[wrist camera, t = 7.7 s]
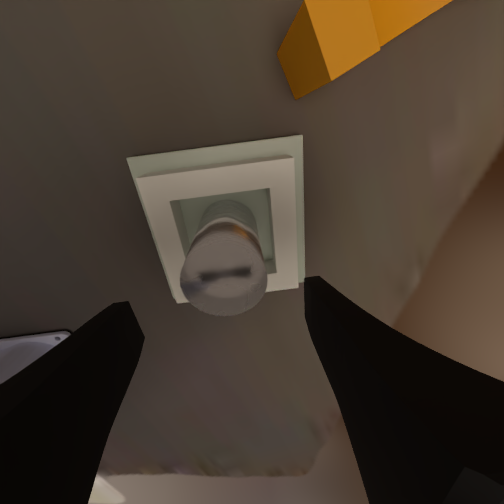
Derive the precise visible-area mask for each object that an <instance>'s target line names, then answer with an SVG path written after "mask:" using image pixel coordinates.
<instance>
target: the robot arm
mask: <svg viewBox="0 0 504 504" xmlns="http://www.w3.org/2000/svg"><path fill="white" fill-rule="evenodd" d="M304 302H305V319H306V322H307V326H308V329H309V333H310V336H311V339H312V342H313V344H314V346H315V349H316V351H317V354H318V356H319V358H320V361H321V363H322V365H323V368H324V370H325V372H326V375H327V377H328V380H329V382H330V384H331V387H332V389H333V391H334V394H335V396H336V399H337V402H338V404H339V407H340V410H341V413H342V416H343V419H344V423H345V426H346V429H347V432H348V435H349V438H350V441H351V444H352V448H353V451H354V454H355V457H356V460H357V463H358V467H359V470H360V474H361V477H362V480H363V484H364V487H365V490H366V494H367V497H368V501H369V504H504V382H503V381H500V380H498V379H495V378H493V377H491V376H489V375H486V374H484V373H481V372H479V371H477V370H474V369H472V368H470V367H468V366H465V365H463V364H461V363H459V362H456V361H454V360H452V359H450V358H448V357H446V356H444V355H442V354H440V353H438V352H436V351H434V350H432V349H430V348H428V347H426V346H424V345H422V344H420V343H418V342H416V341H414V340H412V339H411V338H409V337H407V336H405V335H403V334H402V333H400V332H398V331H396V330H395V329H393V328H391V327H389V326H388V325H386V324H385V323H383V322H381V321H380V320H378V319H377V318H375V317H374V316H372V315H371V314H369V313H368V312H366V311H365V310H363V309H362V308H360V307H359V306H357V305H356V304H355V303H353V302H352V301H351V300H349V299H348V298H346V297H345V296H344V295H343V294H341V293H340V292H339V291H337V290H336V289H335V288H334V287H332V286H331V285H330V284H329V283H327V282H326V281H325V280H324V279H322V278H321V277H320V276H314V277H307V278H304ZM144 339H145V337H144V334H143V332H142V330H141V328H140V326H139V323H138V321H137V319H136V317H135V315H134V312H133V310H132V308H131V306H130V304H129V301H126V302H118V303H113V304H111V305H110V306H108V307H107V308H105V309H104V310H103V311H101V312H100V313H98V314H97V315H96V316H94V317H93V318H92V319H90V320H89V321H88V322H86V323H85V324H84V325H83V326H81V327H80V328H79V329H77V330H76V331H75V332H73V333H72V334H70V333H69V332H67V331H60V332H52V333H44V334H37V335H29V336H21V337H14V338H6V339H0V504H88V501H89V498H90V494H91V491H92V488H93V484H94V481H95V477H96V474H97V470H98V467H99V464H100V461H101V457H102V454H103V451H104V448H105V445H106V442H107V438H108V435H109V433H110V430H111V427H112V425H113V422H114V420H115V417H116V415H117V412H118V410H119V408H120V405H121V403H122V400H123V398H124V396H125V393H126V391H127V389H128V386H129V384H130V381H131V379H132V376H133V374H134V372H135V369H136V367H137V364H138V361H139V358H140V354H141V351H142V347H143V343H144Z"/></svg>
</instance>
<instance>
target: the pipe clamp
mask: <svg viewBox="0 0 504 504" xmlns="http://www.w3.org/2000/svg"><path fill="white" fill-rule="evenodd" d="M451 1H452V0H304V1H303V3H302V5H301V7H300V9H299V11H298V13H297V15H296V17H295V19H294V21H293V23H292V24H291V26H290V28H289V30H288V32H287V34H286V36H285V38H284V40H283V42H282V44H281V46H280V48H279V50H278V52H277V56H278V59H279V61H280V64H281V66H282V69H283V71H284V73H285V76H286V78H287V81H288V83H289V86H290V88H291V91H292V93H293V96H294V98H295V100H297V99H299V98H301V97H302V96H304V95H306V94H308V93H310V92H312V91H314V90H316V89H317V88H319V87H321V86H323V85H325V84H327V83H329V82H331V81H332V80H334V79H336V78H337V77H339V76H340V75H342V74H343V73H345V72H346V71H348V70H350V69H351V68H353V67H354V66H356V65H357V64H359V63H361V62H362V61H364V60H365V59H367V58H368V57H370V56H371V55H373V54H375V53H376V52H378V51H379V50H380V47H381V46H383V45H384V44H386V43H387V42H389V41H390V40H392V39H393V38H395V37H396V36H398V35H399V34H401V33H402V32H404V31H405V30H407V29H409V28H410V27H412V26H413V25H415V24H416V23H418V22H419V21H421V20H423V19H424V18H426V17H427V16H429V15H430V14H432V13H433V12H435V11H437V10H438V9H440V8H441V7H443V6H444V5H446V4H448V3H449V2H451Z"/></svg>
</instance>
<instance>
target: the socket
mask: <svg viewBox="0 0 504 504" xmlns="http://www.w3.org/2000/svg"><path fill="white" fill-rule="evenodd" d="M126 159H127V162H128V165H129V168H130V171H131V174H132V177H133V180H134V183H135V186H136V189H137V192H138V195H139V198H140V201H141V204H142V207H143V209H144V212H145V215H146V218H147V221H148V224H149V227H150V230H151V233H152V236H153V239H154V242H155V245H156V248H157V251H158V254H159V257H160V260H161V263H162V266H163V269H164V272H165V275H166V278H167V281H168V284H169V286H170V289H171V292H172V295H173V298H174V299H176V302H177V303H185V302H189V301H188V300H187V299H186V297H185V296H184V294H183V292H182V290H181V286H180V273H181V269H182V267H183V264H184V261H185V259H186V256H187V254H188V251H189V249H190V246H191V243H192V241H193V238H194V236H195V233H196V230H197V228H198V225H199V223H200V220H201V218H202V215H203V213H204V211H205V210H206V209H207V208H208V207H209V206H210V205H211V204H213V203H215V202H217V201H220V200H226V199H228V200H235V201H239V202H241V203H243V204H244V205H246V206H247V207H248V208H249V209H250V210H251V212H252V213H253V215H254V217H255V220H256V225H257V230H258V234H259V239H260V244H261V249H262V253H263V258H264V263H265V267H266V272H267V279H268V282H267V288H266V291H265V292H269V291H277V290H285V289H292V288H298V283H300V282H304V278H305V243H304V182H303V135H292V136H285V137H277V138H270V139H262V140H254V141H247V142H239V143H232V144H224V145H216V146H209V147H201V148H194V149H186V150H178V151H171V152H163V153H156V154H148V155H140V156H133V157H129V158H126Z"/></svg>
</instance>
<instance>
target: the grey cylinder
mask: <svg viewBox="0 0 504 504" xmlns="http://www.w3.org/2000/svg"><path fill="white" fill-rule="evenodd" d="M267 282H268V279H267V272H266V267H265V263H264V258H263V253H262V249H261V244H260V239H259V234H258V230H257V225H256V220H255V217H254V215H253V213H252V212H251V210H250V209H249V208H248V207H247V206H246V205H244V204H243V203H241V202H239V201H235V200H228V199H226V200H220V201H217V202H215V203H213V204H211V205H210V206H209V207H208V208H207V209H206V210H205V211H204V213H203V215H202V218H201V220H200V223H199V225H198V228H197V230H196V233H195V236H194V238H193V241H192V243H191V246H190V249H189V251H188V254H187V256H186V259H185V261H184V264H183V267H182V269H181V273H180V286H181V290H182V292H183V294H184V296H185V297H186V299H187V300H188V301H189V302H190V303H191V304H192V305H193V306H194V307H196V308H197V309H199V310H201V311H203V312H205V313H208V314H211V315H216V316H233V315H237V314H241V313H243V312H246V311H248V310H249V309H251V308H253V307H254V306H255V305H256V304H257V303H258V302H259V301H260V300H261V299H262V297H263V296H264V294H265V291H266V288H267Z"/></svg>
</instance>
